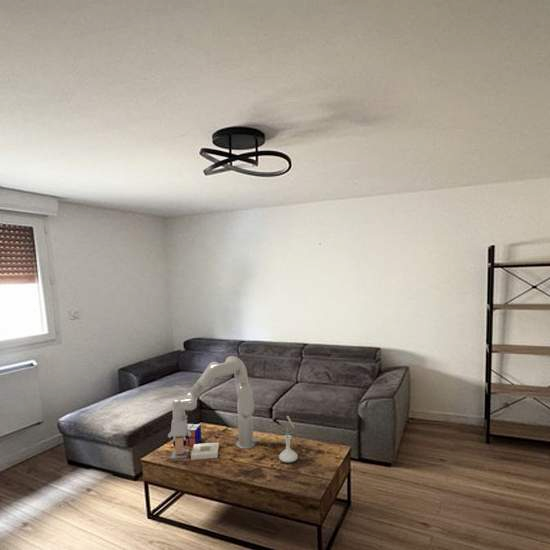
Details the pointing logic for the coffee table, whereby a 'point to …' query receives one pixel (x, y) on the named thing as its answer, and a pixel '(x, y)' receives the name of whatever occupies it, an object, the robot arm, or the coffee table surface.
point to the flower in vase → (288, 448)
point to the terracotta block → (179, 445)
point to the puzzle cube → (194, 434)
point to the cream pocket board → (205, 451)
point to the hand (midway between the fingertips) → (180, 446)
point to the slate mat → (180, 454)
